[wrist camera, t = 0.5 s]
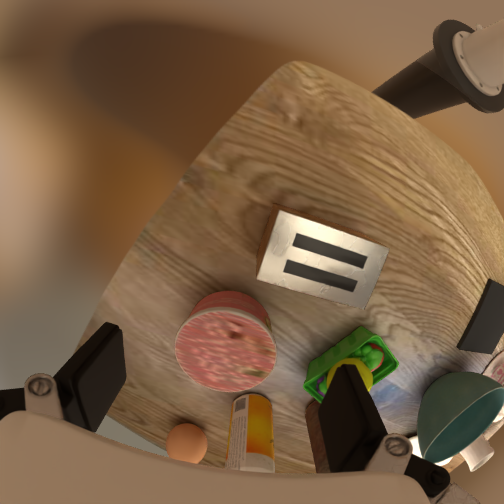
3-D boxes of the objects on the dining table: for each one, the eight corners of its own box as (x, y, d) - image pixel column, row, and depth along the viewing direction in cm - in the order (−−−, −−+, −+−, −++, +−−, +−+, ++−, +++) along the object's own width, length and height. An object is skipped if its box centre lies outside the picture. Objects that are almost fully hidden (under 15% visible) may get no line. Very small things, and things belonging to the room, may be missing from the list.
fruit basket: (325, 390, 37) (340, 446, 26) (290, 358, 35) (300, 418, 24) (387, 345, 35) (420, 394, 24) (358, 307, 33) (394, 356, 22)
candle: (352, 412, 38) (383, 507, 19) (311, 426, 39) (328, 524, 20) (343, 385, 36) (381, 493, 17) (298, 401, 37) (315, 513, 18)
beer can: (250, 420, 39) (247, 496, 24) (224, 402, 38) (212, 481, 23) (279, 405, 38) (285, 484, 23) (253, 385, 36) (251, 469, 22)
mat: (488, 278, 32) (492, 280, 31) (517, 293, 33) (520, 295, 32) (456, 346, 35) (459, 349, 34) (489, 352, 36) (491, 354, 35)
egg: (170, 411, 39) (157, 450, 30) (210, 418, 39) (202, 459, 30) (173, 433, 40) (162, 470, 32) (210, 439, 40) (203, 477, 32)
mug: (454, 454, 46) (465, 475, 36) (469, 436, 44) (483, 457, 34) (476, 444, 46) (488, 462, 36) (491, 426, 44) (504, 444, 34)
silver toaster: (273, 202, 30) (279, 209, 22) (368, 235, 31) (398, 251, 23) (256, 255, 32) (255, 280, 24) (349, 283, 32) (372, 312, 25)
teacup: (508, 339, 35) (524, 352, 29) (512, 363, 37) (525, 375, 31) (472, 379, 37) (487, 396, 31) (480, 398, 39) (492, 413, 33)
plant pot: (428, 351, 35) (466, 396, 23) (487, 348, 35) (521, 380, 24) (384, 426, 40) (404, 472, 28) (447, 415, 40) (469, 451, 28)
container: (257, 361, 35) (256, 401, 28) (183, 338, 35) (166, 375, 27) (285, 295, 33) (293, 329, 25) (202, 268, 32) (185, 295, 24)
